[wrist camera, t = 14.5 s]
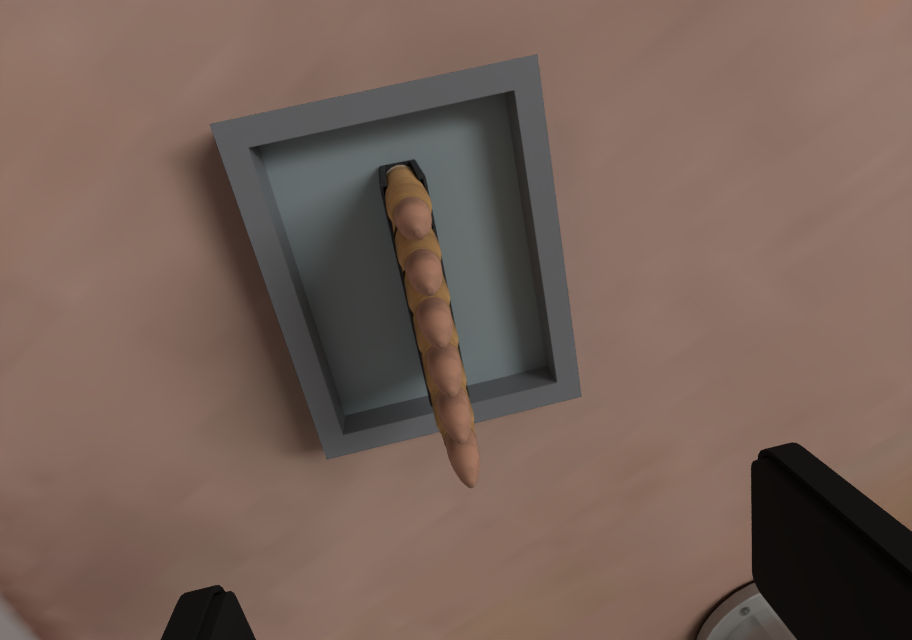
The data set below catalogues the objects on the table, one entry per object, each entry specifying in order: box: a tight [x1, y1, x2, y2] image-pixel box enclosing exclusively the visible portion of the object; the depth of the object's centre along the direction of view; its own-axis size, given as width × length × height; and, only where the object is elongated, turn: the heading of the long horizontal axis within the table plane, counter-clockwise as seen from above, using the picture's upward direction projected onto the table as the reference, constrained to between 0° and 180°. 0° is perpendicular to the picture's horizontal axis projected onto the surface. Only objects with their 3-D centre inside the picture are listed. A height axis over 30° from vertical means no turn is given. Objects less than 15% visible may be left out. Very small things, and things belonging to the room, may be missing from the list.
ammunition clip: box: [379, 159, 480, 488], centre depth 22 cm, size 11×2×12 cm, turn 11°
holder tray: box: [210, 54, 581, 459], centre depth 27 cm, size 14×17×3 cm
